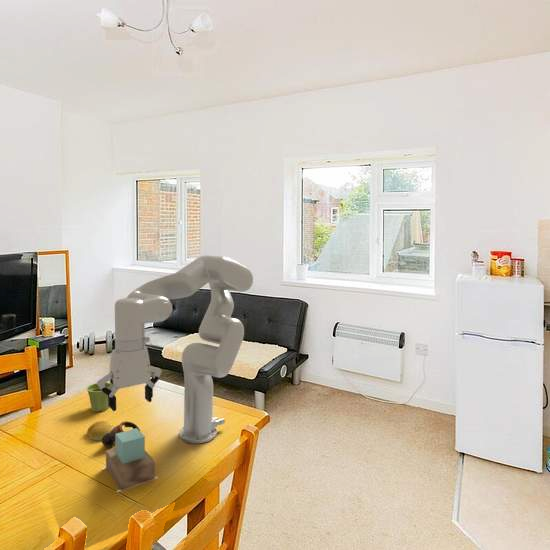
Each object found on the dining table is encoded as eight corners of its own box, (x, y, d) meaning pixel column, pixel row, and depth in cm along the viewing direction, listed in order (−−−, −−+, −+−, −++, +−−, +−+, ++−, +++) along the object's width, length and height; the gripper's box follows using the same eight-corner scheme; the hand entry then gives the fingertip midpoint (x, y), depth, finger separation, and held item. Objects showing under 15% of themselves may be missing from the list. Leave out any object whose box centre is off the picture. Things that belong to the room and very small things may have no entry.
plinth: (137, 457, 123) (137, 441, 122) (154, 478, 112) (154, 461, 112) (106, 467, 117) (105, 450, 116) (121, 490, 107) (121, 472, 106)
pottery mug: (120, 436, 138) (133, 417, 137) (135, 457, 133) (148, 437, 133) (90, 442, 128) (103, 421, 127) (105, 465, 123) (119, 443, 122)
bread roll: (93, 444, 132) (93, 432, 132) (84, 433, 139) (84, 422, 138) (119, 436, 137) (119, 425, 137) (109, 426, 144) (109, 415, 144)
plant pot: (101, 415, 152) (101, 393, 151) (81, 411, 154) (80, 389, 153) (118, 406, 160) (118, 384, 160) (98, 402, 163) (98, 381, 162)
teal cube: (136, 447, 118) (136, 428, 118) (144, 457, 114) (144, 436, 113) (115, 454, 115) (115, 433, 114) (122, 464, 110) (122, 442, 109)
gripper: (155, 336, 119) (156, 392, 121) (92, 345, 109) (94, 407, 111) (166, 342, 113) (166, 401, 116) (100, 353, 103) (102, 418, 105)
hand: (131, 404), depth 113 cm, fingers open, 9 cm apart
